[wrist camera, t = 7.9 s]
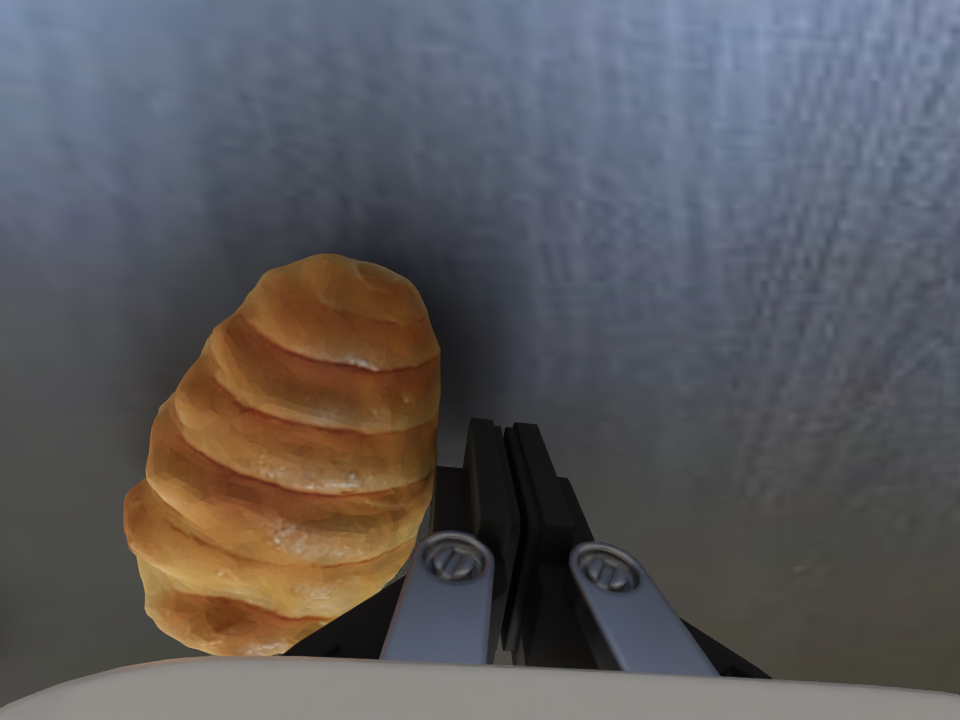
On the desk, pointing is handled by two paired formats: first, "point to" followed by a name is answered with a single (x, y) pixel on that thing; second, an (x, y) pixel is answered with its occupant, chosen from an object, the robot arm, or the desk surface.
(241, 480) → the pastry
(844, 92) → the desk surface
